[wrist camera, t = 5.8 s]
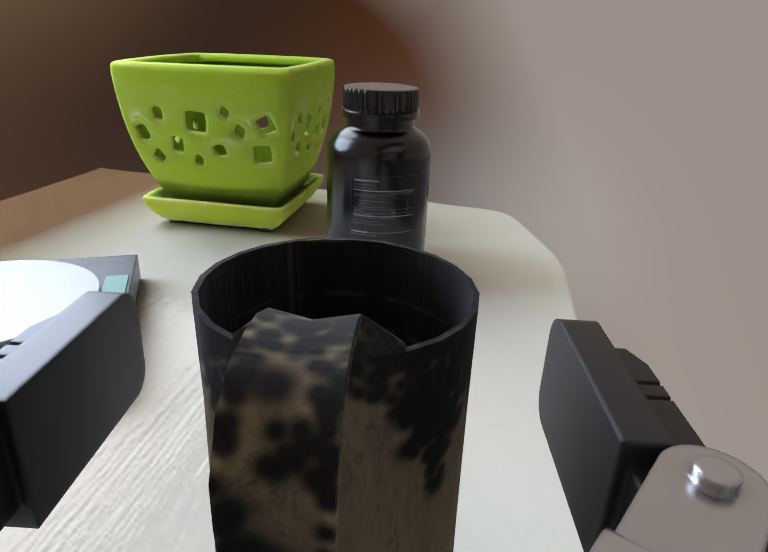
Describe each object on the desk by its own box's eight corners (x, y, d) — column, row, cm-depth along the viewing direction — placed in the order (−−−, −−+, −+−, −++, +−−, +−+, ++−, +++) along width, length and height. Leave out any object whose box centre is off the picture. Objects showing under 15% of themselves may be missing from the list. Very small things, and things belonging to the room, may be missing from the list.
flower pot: (204, 185, 58) (193, 50, 53) (338, 197, 56) (340, 58, 51) (124, 227, 45) (100, 55, 40) (295, 244, 43) (291, 66, 38)
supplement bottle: (323, 246, 43) (324, 79, 39) (412, 245, 44) (423, 82, 40) (330, 283, 37) (332, 89, 32) (433, 280, 38) (449, 93, 33)
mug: (255, 572, 17) (230, 181, 13) (438, 587, 17) (483, 196, 12) (136, 967, 10) (-31, 389, 5) (452, 1000, 10) (577, 433, 5)
